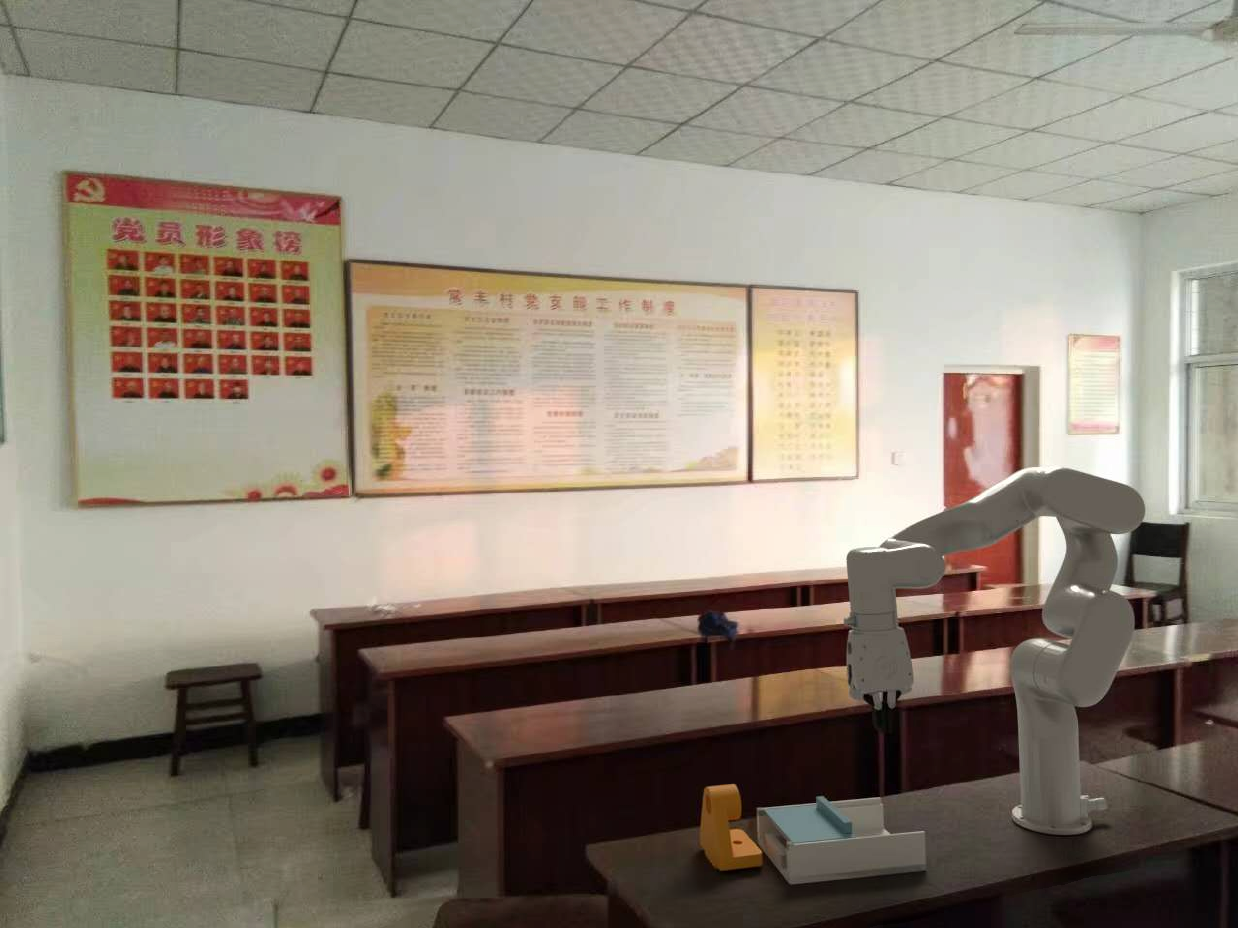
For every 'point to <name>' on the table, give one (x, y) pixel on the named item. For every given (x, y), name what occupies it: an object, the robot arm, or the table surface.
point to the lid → (811, 822)
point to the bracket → (726, 830)
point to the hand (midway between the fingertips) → (883, 730)
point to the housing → (844, 847)
